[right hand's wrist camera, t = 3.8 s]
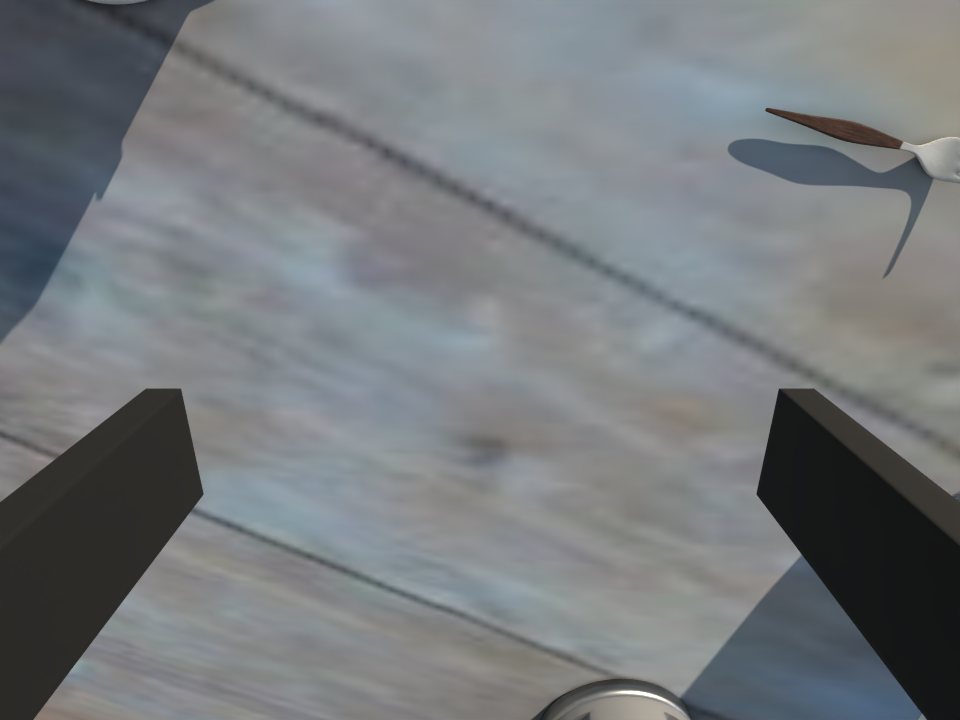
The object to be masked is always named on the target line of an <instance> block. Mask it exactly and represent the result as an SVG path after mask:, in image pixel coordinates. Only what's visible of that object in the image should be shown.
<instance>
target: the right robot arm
mask: <svg viewBox="0 0 960 720" xmlns="http://www.w3.org/2000/svg"><path fill="white" fill-rule="evenodd" d="M202 496H203V490H202V485H201V480H200V475H199V471H198V466H197V461H196V457H195V452H194V447H193V443H192V438H191V433H190V429H189V424H188V419H187V415H186V410H185V405H184V401H183V396H182V391H181V389H145V390H144V391H142V392H141V393H140V394H139V395H137V396H136V397H135V398H133V399H132V400H131V401H130V402H128V403H127V404H126V405H125V406H123V407H122V408H121V409H119V410H118V411H117V412H116V413H114V414H113V415H112V416H110V417H109V418H108V419H107V420H105V421H104V422H103V423H101V424H100V425H99V426H98V427H96V428H95V429H94V430H92V431H91V432H90V433H89V434H87V435H86V436H85V437H83V438H82V439H81V440H80V441H78V442H77V443H76V444H74V445H73V446H72V447H71V448H69V449H68V450H67V451H66V452H64V453H63V454H62V455H60V456H59V457H58V458H57V459H55V460H54V461H53V462H51V463H50V464H49V465H48V466H46V467H45V468H44V469H42V470H41V471H40V472H39V473H37V474H36V475H35V476H33V477H32V478H31V479H30V480H28V481H27V482H26V483H24V484H23V485H22V486H21V487H19V488H18V489H17V490H15V491H14V492H13V493H12V494H10V495H9V496H8V497H7V498H5V499H4V500H3V501H1V502H0V720H33V719H34V718H35V717H36V715H37V714H38V713H39V711H40V710H41V709H42V707H43V706H44V705H45V703H46V702H47V701H48V699H49V698H50V697H51V695H52V694H53V693H54V692H55V690H56V689H57V688H58V686H59V685H60V684H61V682H62V681H63V680H64V678H65V677H66V676H67V674H68V673H69V672H70V670H71V669H72V668H73V666H74V665H75V664H76V662H77V661H78V660H79V658H80V657H81V656H82V654H83V653H84V652H85V650H86V649H87V648H88V647H89V645H90V644H91V643H92V641H93V640H94V639H95V637H96V636H97V635H98V633H99V632H100V631H101V629H102V628H103V627H104V625H105V624H106V623H107V621H108V620H109V619H110V617H111V616H112V615H113V613H114V612H115V611H116V609H117V608H118V607H119V605H120V604H121V603H122V602H123V600H124V599H125V598H126V596H127V595H128V594H129V592H130V591H131V590H132V588H133V587H134V586H135V584H136V583H137V582H138V580H139V579H140V578H141V576H142V575H143V574H144V572H145V571H146V570H147V568H148V567H149V566H150V564H151V563H152V562H153V560H154V559H155V558H156V557H157V555H158V554H159V553H160V551H161V550H162V549H163V547H164V546H165V545H166V543H167V542H168V541H169V539H170V538H171V537H172V535H173V534H174V533H175V531H176V530H177V529H178V527H179V526H180V525H181V523H182V522H183V521H184V519H185V518H186V517H187V515H188V514H189V513H190V512H191V510H192V509H193V508H194V506H195V505H196V504H197V502H198V501H199V500H200V498H201V497H202ZM757 496H758V497H759V498H760V500H761V501H762V502H763V504H764V505H765V506H766V508H767V509H768V510H769V512H770V513H771V514H772V515H773V517H774V518H775V519H776V521H777V522H778V523H779V525H780V526H781V527H782V529H783V530H784V531H785V533H786V534H787V535H788V537H789V538H790V539H791V541H792V542H793V543H794V545H795V546H796V547H797V549H798V550H799V551H800V553H801V554H802V555H803V557H804V558H805V559H806V560H807V562H808V563H809V564H810V566H811V567H812V568H813V570H814V571H815V572H816V574H817V575H818V576H819V578H820V579H821V580H822V582H823V583H824V584H825V586H826V587H827V588H828V590H829V591H830V592H831V594H832V595H833V596H834V598H835V599H836V600H837V602H838V603H839V604H840V605H841V607H842V608H843V609H844V611H845V612H846V613H847V615H848V616H849V617H850V619H851V620H852V621H853V623H854V624H855V625H856V627H857V628H858V629H859V631H860V632H861V633H862V635H863V636H864V637H865V639H866V640H867V641H868V643H869V644H870V645H871V647H872V648H873V649H874V650H875V652H876V653H877V654H878V656H879V657H880V658H881V660H882V661H883V662H884V664H885V665H886V666H887V668H888V669H889V670H890V672H891V673H892V674H893V676H894V677H895V678H896V680H897V681H898V682H899V684H900V685H901V686H902V688H903V689H904V690H905V692H906V693H907V694H908V695H909V697H910V698H911V699H912V701H913V702H914V703H915V705H916V706H917V707H918V709H919V710H920V711H921V713H922V714H923V715H924V717H925V718H926V719H927V720H960V502H959V501H957V500H956V499H955V498H953V497H952V496H951V495H950V494H948V493H947V492H946V491H945V490H943V489H942V488H941V487H939V486H938V485H937V484H936V483H934V482H933V481H932V480H930V479H929V478H928V477H927V476H925V475H924V474H923V473H921V472H920V471H919V470H918V469H916V468H915V467H914V466H912V465H911V464H910V463H909V462H907V461H906V460H905V459H903V458H902V457H901V456H900V455H898V454H897V453H896V452H894V451H893V450H892V449H891V448H889V447H888V446H887V445H886V444H884V443H883V442H882V441H880V440H879V439H878V438H877V437H875V436H874V435H873V434H871V433H870V432H869V431H868V430H866V429H865V428H864V427H862V426H861V425H860V424H859V423H857V422H856V421H855V420H853V419H852V418H851V417H850V416H848V415H847V414H846V413H844V412H843V411H842V410H841V409H839V408H838V407H837V406H835V405H834V404H833V403H832V402H830V401H829V400H828V399H827V398H825V397H824V396H823V395H821V394H820V393H819V392H818V391H816V390H815V389H779V391H778V396H777V401H776V405H775V410H774V415H773V419H772V424H771V429H770V433H769V438H768V443H767V447H766V452H765V457H764V461H763V466H762V471H761V475H760V480H759V485H758V490H757ZM542 720H692V719H691V717H690V714H689V712H688V710H687V708H686V707H685V705H684V704H683V703H682V701H681V700H680V699H679V698H678V697H676V696H675V695H674V694H673V693H671V692H670V691H668V690H666V689H664V688H662V687H660V686H658V685H655V684H652V683H648V682H645V681H639V680H631V679H612V680H603V681H598V682H594V683H590V684H587V685H584V686H581V687H579V688H576V689H574V690H572V691H570V692H568V693H567V694H565V695H564V696H562V697H561V698H559V699H558V700H557V701H556V702H555V703H553V704H552V705H551V707H550V708H549V709H548V710H547V711H546V713H545V714H544V716H543V718H542Z"/></svg>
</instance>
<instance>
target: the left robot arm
mask: <svg viewBox="0 0 960 720" xmlns="http://www.w3.org/2000/svg"><path fill="white" fill-rule="evenodd" d="M88 1H92V2H97V3H103V4H115V5H121V4H133V3H139V2H143V1H147V0H88Z"/></svg>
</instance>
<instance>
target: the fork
mask: <svg viewBox="0 0 960 720" xmlns="http://www.w3.org/2000/svg"><path fill="white" fill-rule="evenodd" d="M765 111H767V112H769V113H772V114H774V115H777V116H780V117H782V118H785V119H788V120H790V121H793V122H796V123H799V124H801V125H804V126H806V127H809V128H811V129H814V130H816V131H819V132H821V133H824V134H826V135H828V136H831V137H834V138H836V139H839V140H843V141H847V142H851V143H857V144H863V145H870V146H878V147H885V148H893V149H899V150H905V151H909V152H912V153H913V154H915V156H916V157H917V158H918V160H919V162H920V164H921V166H922V168H923V169H924V171H925V172H926V173H927V174H928V175H929V176H931V177H932V178H934V179H937V180H941V181H947V182H954V183H960V176H958V175H957V174H958V173H959V172H960V138H958V137H946V138H941V139H938V140H935V141H932V142H930V143H927V144H924V145H919V146H915V145H911V144H908V143H905V142H903V141H901V140H898V139H896V138H894V137H891V136H889V135H887V134H884V133H882V132H880V131H877V130H875V129H873V128H870V127H868V126H865V125H862V124H859V123H855V122H851V121H846V120H840V119H833V118H826V117H819V116H812V115H806V114H800V113H794V112H788V111H783V110H777V109H771V108H766V110H765Z"/></svg>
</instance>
